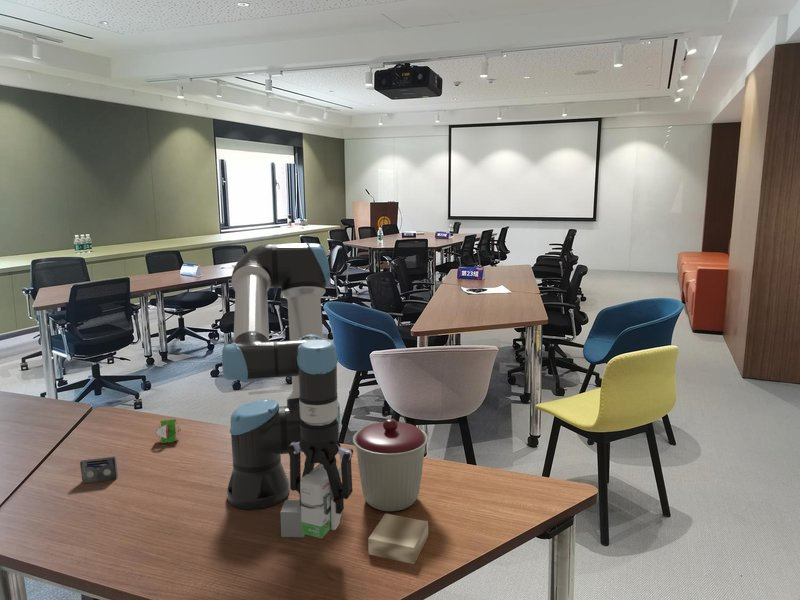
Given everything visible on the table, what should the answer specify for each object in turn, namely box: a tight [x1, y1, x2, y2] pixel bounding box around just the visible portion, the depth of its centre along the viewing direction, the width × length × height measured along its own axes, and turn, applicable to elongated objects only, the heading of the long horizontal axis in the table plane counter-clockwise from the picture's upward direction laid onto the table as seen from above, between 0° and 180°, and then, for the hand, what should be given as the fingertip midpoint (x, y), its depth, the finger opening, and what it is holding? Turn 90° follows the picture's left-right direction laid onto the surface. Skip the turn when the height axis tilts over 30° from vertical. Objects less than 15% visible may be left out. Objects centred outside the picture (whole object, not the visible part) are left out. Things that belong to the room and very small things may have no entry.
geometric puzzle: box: [155, 419, 181, 444], centre depth 174 cm, size 7×7×8 cm
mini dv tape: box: [79, 456, 119, 484], centre depth 150 cm, size 8×2×6 cm, turn 105°
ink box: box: [300, 463, 343, 539], centre depth 116 cm, size 9×5×12 cm, turn 157°
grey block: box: [279, 499, 306, 538], centre depth 127 cm, size 5×5×6 cm
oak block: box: [367, 513, 429, 565], centre depth 121 cm, size 10×10×4 cm
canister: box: [352, 418, 429, 512], centre depth 138 cm, size 18×18×21 cm
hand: (322, 523), depth 117 cm, fingers closed on ink box, 5 cm apart
